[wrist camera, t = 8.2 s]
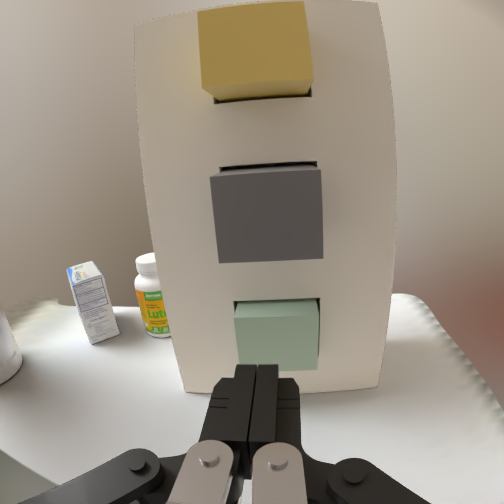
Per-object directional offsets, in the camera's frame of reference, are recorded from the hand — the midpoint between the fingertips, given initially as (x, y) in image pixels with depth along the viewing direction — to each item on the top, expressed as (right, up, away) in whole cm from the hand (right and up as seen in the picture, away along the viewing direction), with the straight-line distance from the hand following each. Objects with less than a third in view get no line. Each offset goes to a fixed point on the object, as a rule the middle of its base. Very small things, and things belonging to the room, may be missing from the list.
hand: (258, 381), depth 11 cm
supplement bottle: (-11, -5, +29) cm, 32 cm away
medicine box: (-21, -6, +29) cm, 37 cm away
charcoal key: (+1, +5, +10) cm, 12 cm away
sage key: (+2, -4, +16) cm, 16 cm away
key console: (+3, -7, +20) cm, 21 cm away
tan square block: (0, +15, +7) cm, 16 cm away
